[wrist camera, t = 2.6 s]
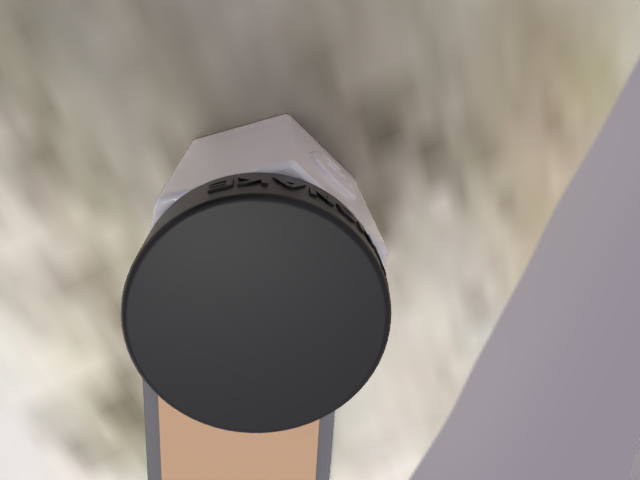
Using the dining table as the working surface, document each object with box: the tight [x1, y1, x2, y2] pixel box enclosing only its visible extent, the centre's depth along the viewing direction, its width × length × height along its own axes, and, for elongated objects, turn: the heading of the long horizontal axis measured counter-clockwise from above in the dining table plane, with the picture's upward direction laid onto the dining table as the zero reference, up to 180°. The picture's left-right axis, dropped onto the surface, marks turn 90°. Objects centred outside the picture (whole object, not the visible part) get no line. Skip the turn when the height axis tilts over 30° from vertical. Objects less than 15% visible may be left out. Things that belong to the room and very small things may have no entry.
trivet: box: [143, 379, 334, 480], centre depth 34 cm, size 10×10×1 cm
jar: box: [121, 114, 391, 433], centre depth 24 cm, size 9×8×12 cm
